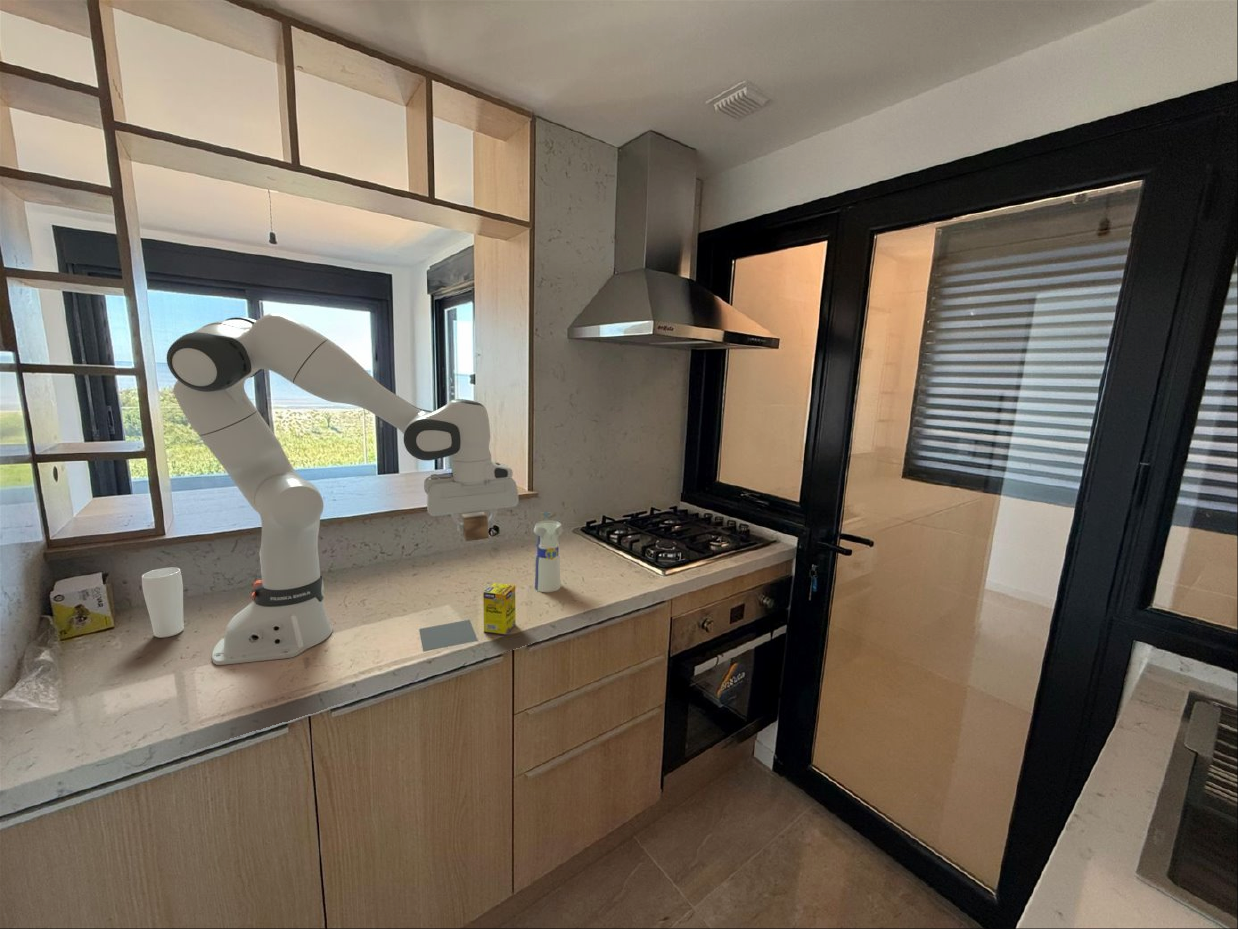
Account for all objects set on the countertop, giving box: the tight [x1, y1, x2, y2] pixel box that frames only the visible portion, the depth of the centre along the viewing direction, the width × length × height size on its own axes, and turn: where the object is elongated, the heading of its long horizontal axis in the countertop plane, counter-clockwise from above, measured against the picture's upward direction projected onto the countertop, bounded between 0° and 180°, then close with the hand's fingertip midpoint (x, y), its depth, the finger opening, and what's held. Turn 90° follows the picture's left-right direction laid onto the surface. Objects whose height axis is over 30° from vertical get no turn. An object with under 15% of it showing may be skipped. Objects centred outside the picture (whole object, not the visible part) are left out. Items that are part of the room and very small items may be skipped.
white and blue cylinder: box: [533, 509, 564, 593], centre depth 146 cm, size 8×9×25 cm
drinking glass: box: [141, 566, 185, 639], centre depth 116 cm, size 7×7×15 cm
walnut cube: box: [461, 511, 490, 542], centre depth 116 cm, size 5×5×5 cm
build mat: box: [418, 619, 479, 652], centre depth 119 cm, size 12×11×1 cm
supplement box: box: [482, 582, 516, 637], centre depth 121 cm, size 6×6×11 cm
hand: (475, 529), depth 116 cm, fingers closed on walnut cube, 5 cm apart
